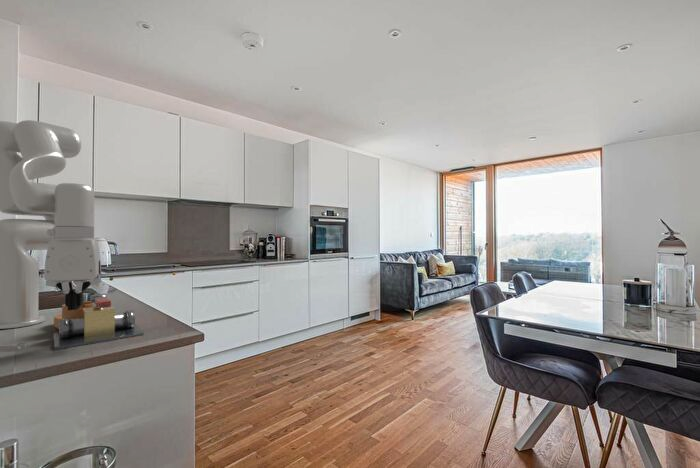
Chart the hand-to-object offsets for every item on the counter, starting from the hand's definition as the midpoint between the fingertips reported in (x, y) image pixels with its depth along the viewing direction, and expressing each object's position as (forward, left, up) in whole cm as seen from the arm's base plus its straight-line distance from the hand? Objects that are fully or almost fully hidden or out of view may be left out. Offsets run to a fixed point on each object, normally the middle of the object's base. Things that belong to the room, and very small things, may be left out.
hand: (74, 308), depth 81 cm
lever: (-2, +6, 0) cm, 6 cm away
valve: (-7, +5, -9) cm, 12 cm away
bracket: (-20, +2, -9) cm, 21 cm away
